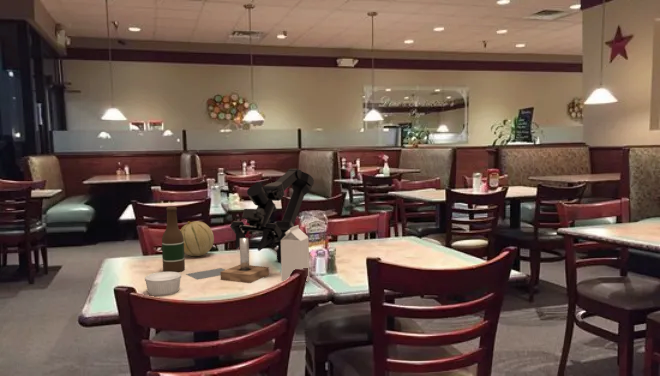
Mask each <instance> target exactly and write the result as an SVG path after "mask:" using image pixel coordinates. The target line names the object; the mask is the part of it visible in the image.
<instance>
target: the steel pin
mask: <svg viewBox="0 0 660 376" xmlns="http://www.w3.org/2000/svg"><path fill="white" fill-rule="evenodd" d="M249 240H250V239H249V237H245V238H240V247H239V254H240V255H239V256H240V257H239V259H240V263H239V265H240V264H241V271H249V265H250V252H249V251H250V248H249V247H250V244H249V242H250V241H249Z"/></svg>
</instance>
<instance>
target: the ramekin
mask: <svg viewBox="0 0 660 376" xmlns="http://www.w3.org/2000/svg"><path fill="white" fill-rule="evenodd" d="M181 278H182V274H181V272H163V271H159V272H154V273H153V272H152V273H150V274H148V275H147V274H146V276H145V277H144V282H145V285H146V290H147V292H148V294H150V295H151V296H168V295H173V294H176V293H177V292H178V291H179V290H180V286H181Z"/></svg>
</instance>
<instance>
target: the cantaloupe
mask: <svg viewBox="0 0 660 376" xmlns="http://www.w3.org/2000/svg"><path fill="white" fill-rule="evenodd" d="M179 230H180V231H181V232H182V235H183V238H184V255H187V256H190V257H201V256H203V255H206V254H207V253H208V252H210V250H211V249H212V247H213V245H214V242H215V236H214V232H213V230H212V228H211V227H210V226H209V225H208V224H207V223H205V222H203V221H199V220H198V221H187V223H186V224H184V225H183V226H182V227H181V228H180V229H179Z"/></svg>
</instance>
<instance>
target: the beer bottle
mask: <svg viewBox="0 0 660 376" xmlns="http://www.w3.org/2000/svg"><path fill="white" fill-rule="evenodd" d="M165 210H166V227H165V230H164V232H163V234H162V237H161V252H162V253H161V255H162V258H161V259H162V269H163V270H162V272H178V273H182V272H184V271H185V268H186V261H185V253H184V238H183V235H182V232H181V231H180V230H181V229H180V228H179V224H178V216H177V215H178V214H177V210H178V208H177V206H168V207H166V209H165Z"/></svg>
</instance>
